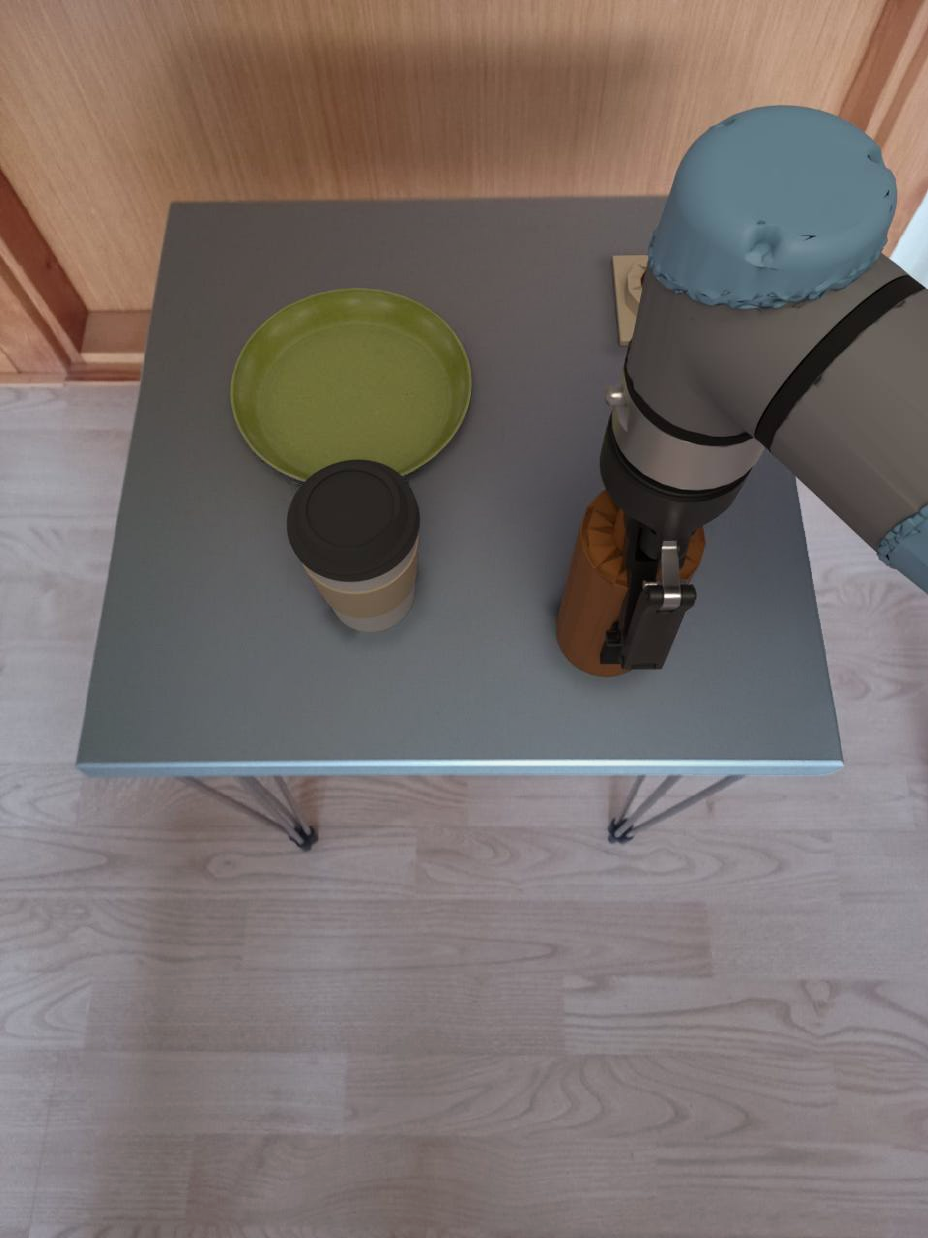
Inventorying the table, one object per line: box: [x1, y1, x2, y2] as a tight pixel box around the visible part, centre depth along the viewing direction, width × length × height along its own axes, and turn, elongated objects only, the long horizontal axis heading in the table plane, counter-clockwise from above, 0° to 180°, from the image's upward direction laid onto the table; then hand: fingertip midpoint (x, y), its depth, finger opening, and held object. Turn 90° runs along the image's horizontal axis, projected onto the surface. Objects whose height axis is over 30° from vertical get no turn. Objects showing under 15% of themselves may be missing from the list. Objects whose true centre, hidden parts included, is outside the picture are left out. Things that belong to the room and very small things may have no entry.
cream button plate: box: [611, 254, 648, 347], centre depth 80 cm, size 10×8×2 cm
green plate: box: [229, 287, 472, 483], centre depth 76 cm, size 21×21×3 cm
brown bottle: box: [555, 489, 707, 678], centre depth 59 cm, size 8×8×23 cm
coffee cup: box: [286, 459, 421, 633], centre depth 64 cm, size 9×9×15 cm
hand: (614, 605), depth 64 cm, fingers closed on brown bottle, 8 cm apart
